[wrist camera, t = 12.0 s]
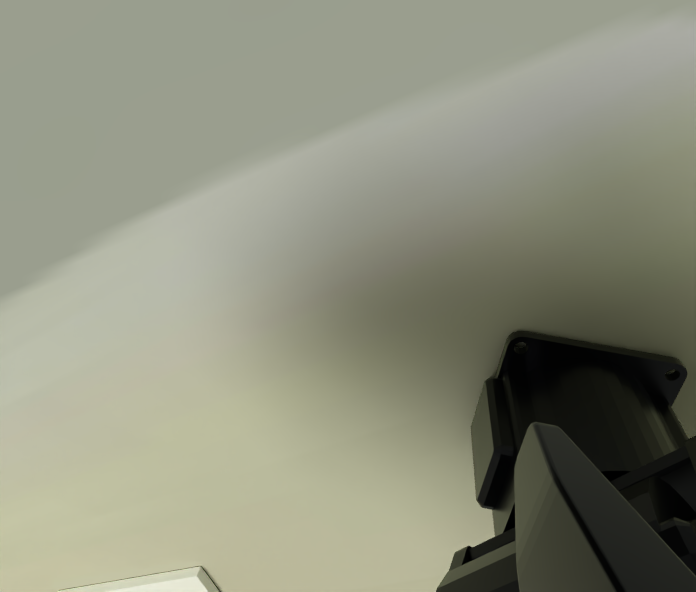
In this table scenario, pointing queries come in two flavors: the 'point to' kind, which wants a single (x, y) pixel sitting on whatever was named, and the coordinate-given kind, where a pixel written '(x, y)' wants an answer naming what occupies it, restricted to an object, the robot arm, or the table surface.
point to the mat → (157, 583)
